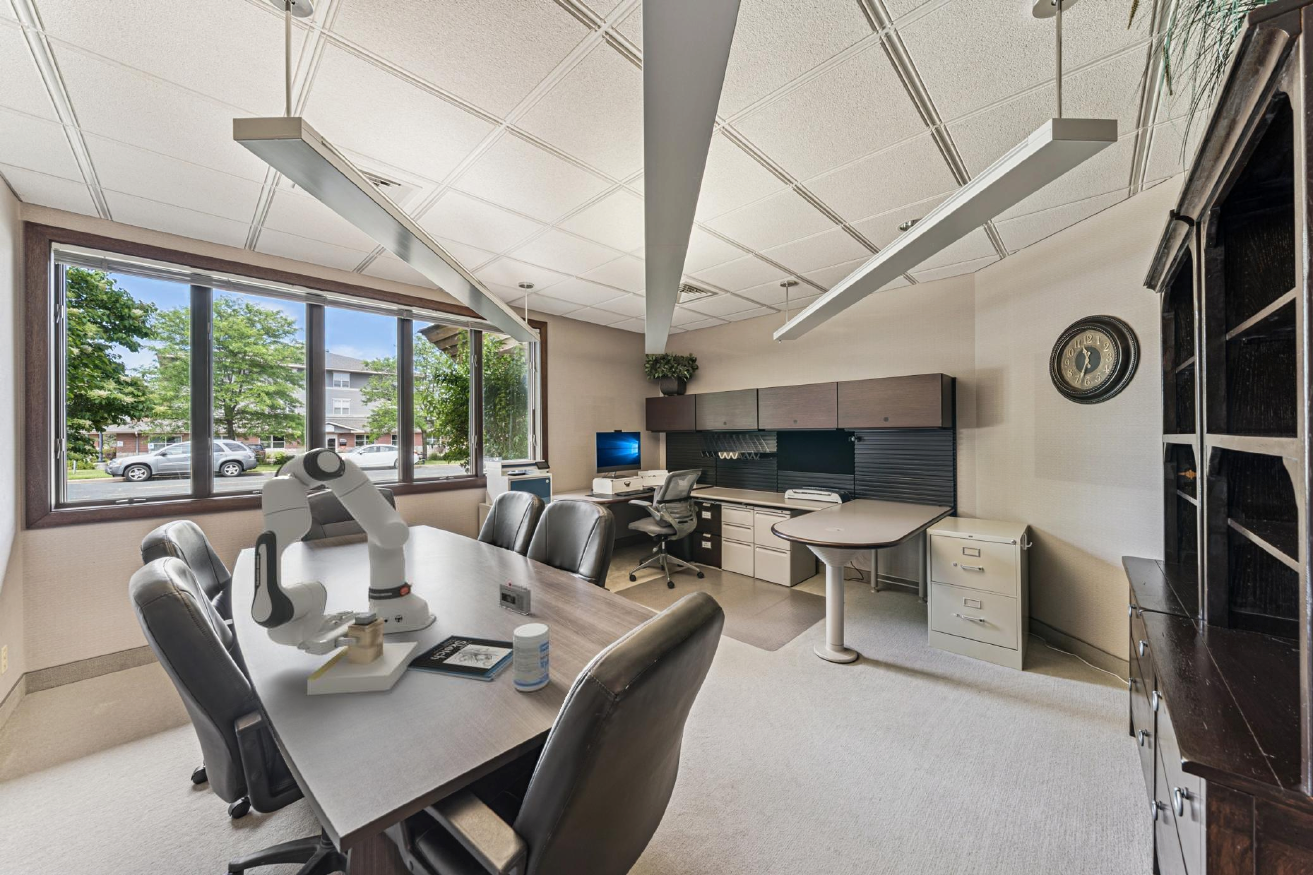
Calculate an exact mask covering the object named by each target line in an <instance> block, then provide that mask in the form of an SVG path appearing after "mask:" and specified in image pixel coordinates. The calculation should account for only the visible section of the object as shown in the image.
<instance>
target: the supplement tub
mask: <svg viewBox="0 0 1313 875" xmlns="http://www.w3.org/2000/svg"><path fill="white" fill-rule="evenodd" d="M512 642H513V662H512V670H513V671H512V676H513V677H512V678H513V679H512V680H513V686H514V687H515V689H516V690H518V691H520V692H535V691H538V690H540V689H542V688H544V687H545V686H546V685H547V684H548V683H549V681H550V632H549V627H548V626H547V625H546V624H543V623H538V622H536V623H535V622H533V623H527V624H526V623H525V624H523V625H520V626H518V627H516V628H515V629H514V631H513V636H512Z"/></svg>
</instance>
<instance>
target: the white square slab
mask: <svg viewBox="0 0 1313 875" xmlns="http://www.w3.org/2000/svg"><path fill="white" fill-rule="evenodd" d="M417 656H419V641H410V642H390V643H389V642H388V643H387V642H386V643H383V655H382V656H380V657H379V658H377V659H375V660H374V661H372V662H371V663H369V664H368V665H365V664H352V663H348V646H344V648H343V649H341V651H339V652H338V653H337V654H336V655H334V656H333V657H332V658H331V659H329V660H328V661H326V663H324V664H323V665H322V666H321V667H320V668H318V669H317V670H316V671H315V672H314V673H312V674H311V675H310V676H309V677H308V678H307V680H306V681H307V682H306V683H307V688H306V689H307V696H313V695H315V696H317V695H329V694H331V695H332V694H347V693H348V692H349V693H362V692H363V693H365V692H366V693H367V692H380V691H381V692H382V691H383V692H384V691H389V690H390V689H392V688H393V686H394V685H395V684H396V682H397V681H398V680H399V679H400V678H401V676H402V675H403V674H404V672H406V670H408V669H407V666H408V665H409V664H410V662H411V661H412V660H413V659H414V658H416V657H417Z"/></svg>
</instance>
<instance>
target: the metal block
mask: <svg viewBox="0 0 1313 875" xmlns="http://www.w3.org/2000/svg"><path fill="white" fill-rule="evenodd" d="M375 621H376V613H374V612H368V611H364V613H362V614H360V615H358V616H356V617H355V625H360V626H368V625H370V624H371V623H373V622H375Z"/></svg>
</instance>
